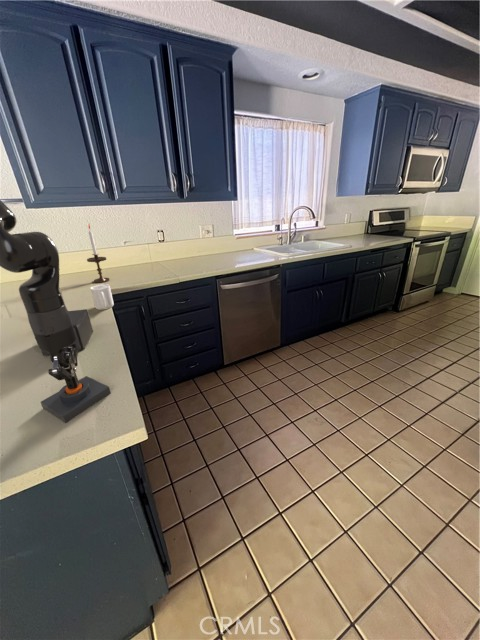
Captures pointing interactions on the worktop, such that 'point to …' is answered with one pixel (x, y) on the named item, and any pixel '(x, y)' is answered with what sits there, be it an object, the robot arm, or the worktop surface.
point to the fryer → (81, 326)
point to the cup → (102, 296)
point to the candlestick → (96, 260)
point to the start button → (71, 391)
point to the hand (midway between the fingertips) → (73, 387)
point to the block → (75, 399)
